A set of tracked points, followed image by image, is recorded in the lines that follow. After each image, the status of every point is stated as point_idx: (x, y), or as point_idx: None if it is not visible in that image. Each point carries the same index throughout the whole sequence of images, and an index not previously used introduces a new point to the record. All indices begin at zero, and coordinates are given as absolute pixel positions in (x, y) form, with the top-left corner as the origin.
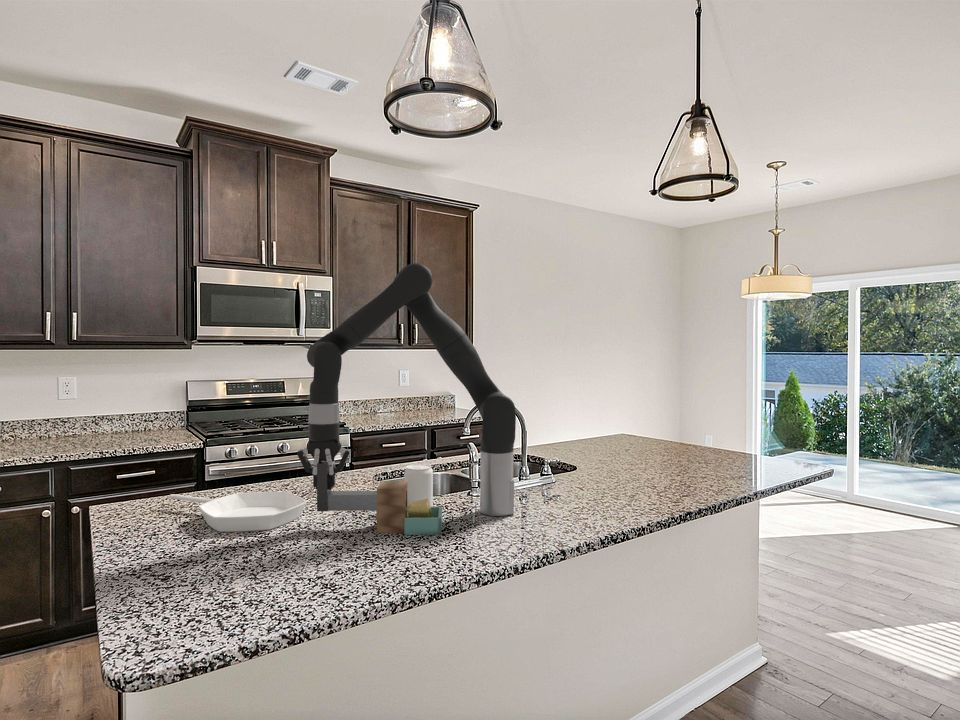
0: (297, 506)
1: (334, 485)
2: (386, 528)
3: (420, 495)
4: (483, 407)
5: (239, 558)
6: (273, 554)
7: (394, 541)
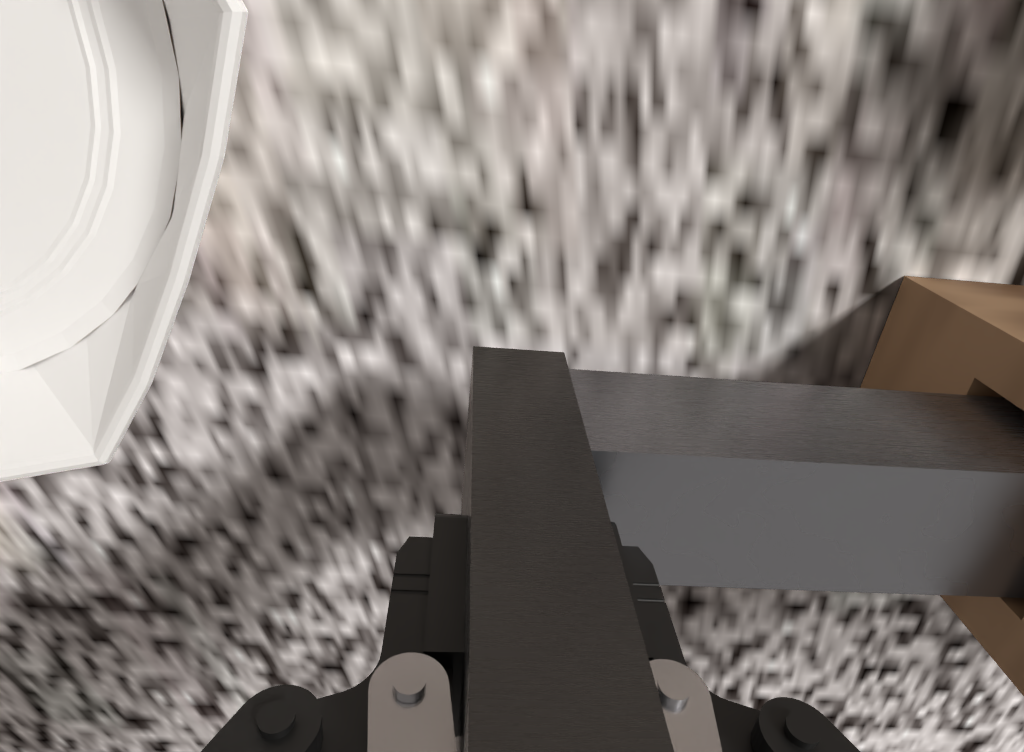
0: (209, 202)
1: (640, 563)
2: None
3: None
4: None
5: (187, 716)
6: (322, 687)
7: None
